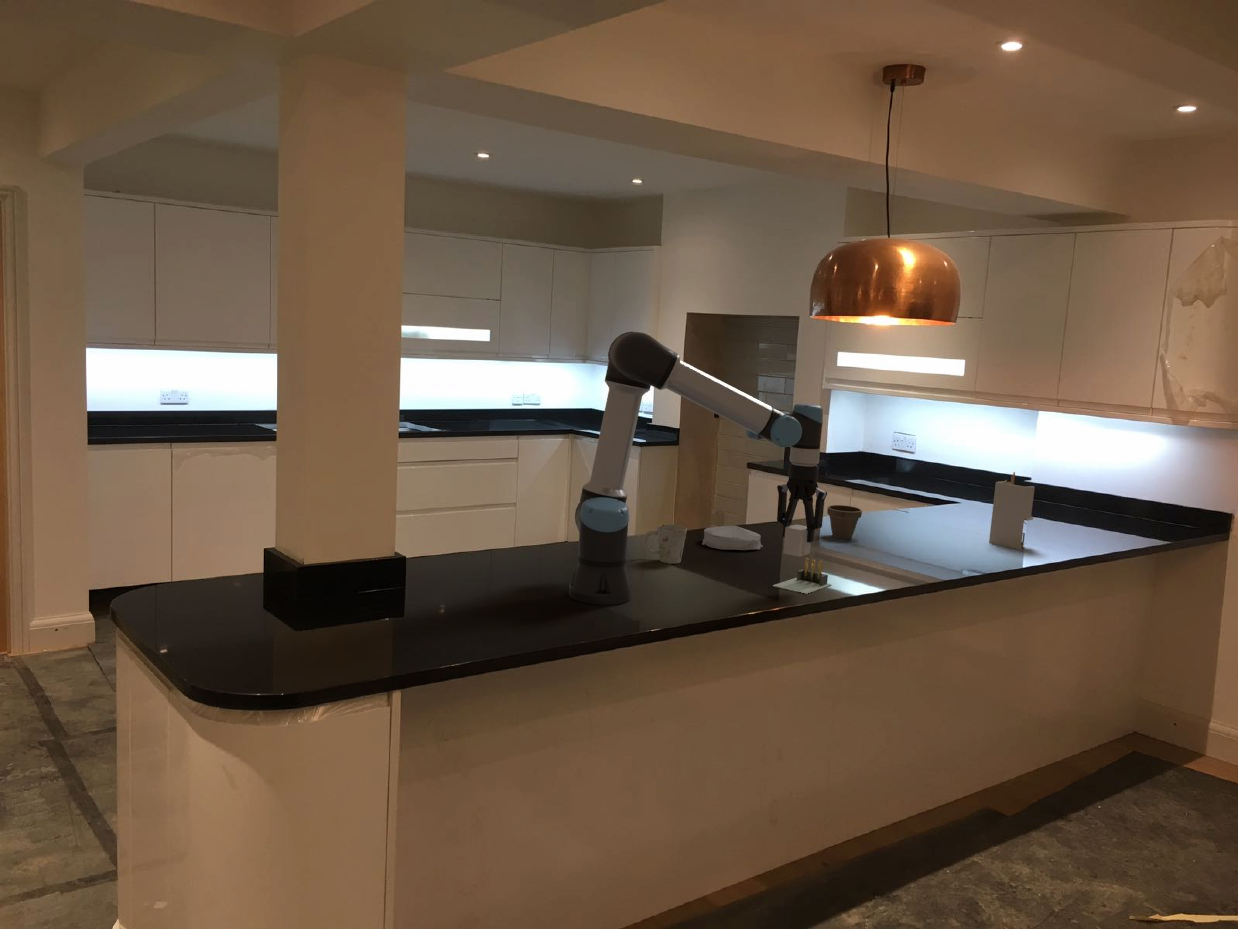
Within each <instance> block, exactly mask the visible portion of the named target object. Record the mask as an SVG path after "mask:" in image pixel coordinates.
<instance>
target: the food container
mask: <svg viewBox="0 0 1238 929" xmlns="http://www.w3.org/2000/svg"><path fill="white" fill-rule="evenodd" d="M703 533H704V534H703V535H704V537H703V539H701V540H702V543H701V545H703V546H707V547H710V548H712V549H713V548H714V549H718V550H728V551H729V550H731V551H732V550H736V551H737V550H739V551H748V550H751V551H752V550H761V548H763V544H761V539H762V538H761V537H762V536H761V535H760V534H759V533H757V532H754V531H752V530H749V529H746V528H743V527H741V526H739V525H738V526H737V525H734V524H733V525H721V526H711V527H706V528H705V529H704V530H703Z"/></svg>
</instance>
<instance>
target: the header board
mask: <svg viewBox="0 0 1238 929" xmlns="http://www.w3.org/2000/svg"><path fill="white" fill-rule="evenodd" d="M796 574H797V575H796V577H794V578H791V579H789V580H785V581H782V582H778V583H776V584H773V585H772V587H774V588H777V589H782V590H786V589H787V590H786V591H790V592H794V593H798V592H801V593H800V594H802V593H804V594H803V595H809V594H812V593H815V592H816V591H817V590H818V591H820V590H823V589H825V588H829V587H831V586H832V584H830V583H828V579H829V577H828V576H829V574H825V573H821V576H820V583H819V584H818V583H813V582H809V581H804V580H802V579H804V568H802V569H799V570H797V573H796ZM817 574H818V571H817V572H816V571H815V573H814V581H816V582H817ZM810 576H811V570H808V576H807V580H810ZM830 585H831V586H830ZM819 589H820V590H819ZM811 592H812V593H811ZM808 593H809V594H808Z"/></svg>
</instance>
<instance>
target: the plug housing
mask: <svg viewBox="0 0 1238 929" xmlns="http://www.w3.org/2000/svg"><path fill="white" fill-rule="evenodd" d="M806 528H807V525H801V524H792V526H791V525H790V526H788V527H785V538H784V542H783V554H784V555H789V556H794V557H797V558H798V557H803V556H804V555H802V549H803V537H804V530H806ZM811 543H812V542H811ZM811 543H810V546H811Z"/></svg>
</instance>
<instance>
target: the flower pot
mask: <svg viewBox="0 0 1238 929" xmlns="http://www.w3.org/2000/svg"><path fill="white" fill-rule="evenodd" d="M862 512H863V510H862V509H861V508H859V507H856V506H852V505H845V504H844V505H843V504H834V505H829V506H827V513H826V514H827V515H828V516H829V520H830V521H829V522H830V528H831V534H832V537H833V538H837V539H842V540H849V539H852V538H853V535H854V533H855V530H856V527H857V524H858V522H859V519H860V518H862V514H863V513H862Z"/></svg>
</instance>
